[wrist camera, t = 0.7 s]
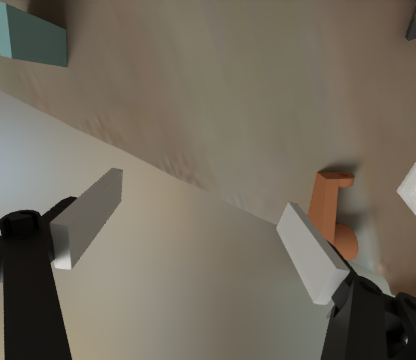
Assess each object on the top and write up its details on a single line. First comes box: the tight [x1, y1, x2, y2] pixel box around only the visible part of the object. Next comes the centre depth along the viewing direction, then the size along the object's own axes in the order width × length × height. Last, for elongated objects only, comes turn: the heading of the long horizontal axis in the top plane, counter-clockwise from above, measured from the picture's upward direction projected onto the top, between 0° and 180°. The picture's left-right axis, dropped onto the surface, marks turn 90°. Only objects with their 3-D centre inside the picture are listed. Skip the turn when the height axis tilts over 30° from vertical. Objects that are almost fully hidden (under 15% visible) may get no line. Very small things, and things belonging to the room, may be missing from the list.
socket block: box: [0, 2, 67, 67], centre depth 28 cm, size 6×6×11 cm
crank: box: [308, 172, 358, 260], centre depth 45 cm, size 20×8×8 cm, turn 1°
